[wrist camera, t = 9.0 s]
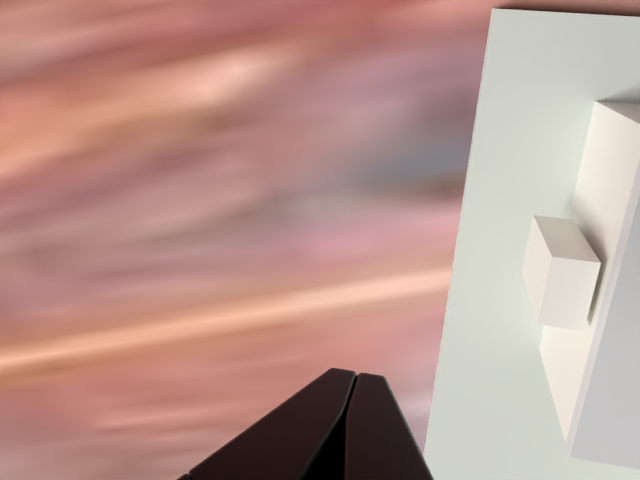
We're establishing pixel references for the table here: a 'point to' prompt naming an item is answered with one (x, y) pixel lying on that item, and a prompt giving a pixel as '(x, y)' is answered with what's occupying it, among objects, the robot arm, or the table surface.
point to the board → (519, 242)
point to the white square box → (594, 294)
